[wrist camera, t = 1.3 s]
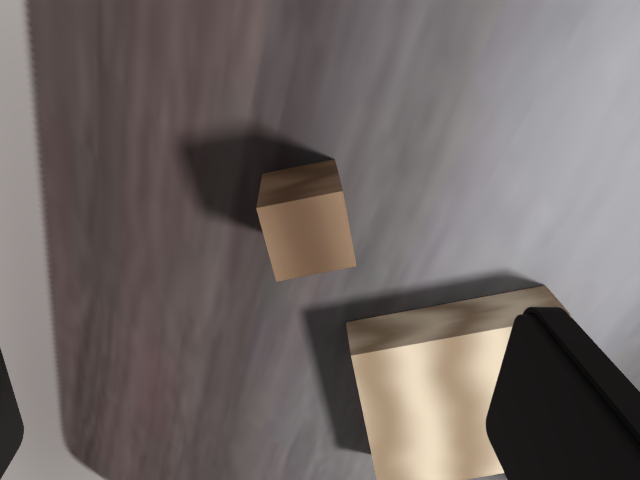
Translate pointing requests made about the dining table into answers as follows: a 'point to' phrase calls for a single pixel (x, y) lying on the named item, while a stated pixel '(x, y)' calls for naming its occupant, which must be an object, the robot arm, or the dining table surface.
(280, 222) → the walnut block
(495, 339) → the birch base
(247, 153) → the dining table surface
